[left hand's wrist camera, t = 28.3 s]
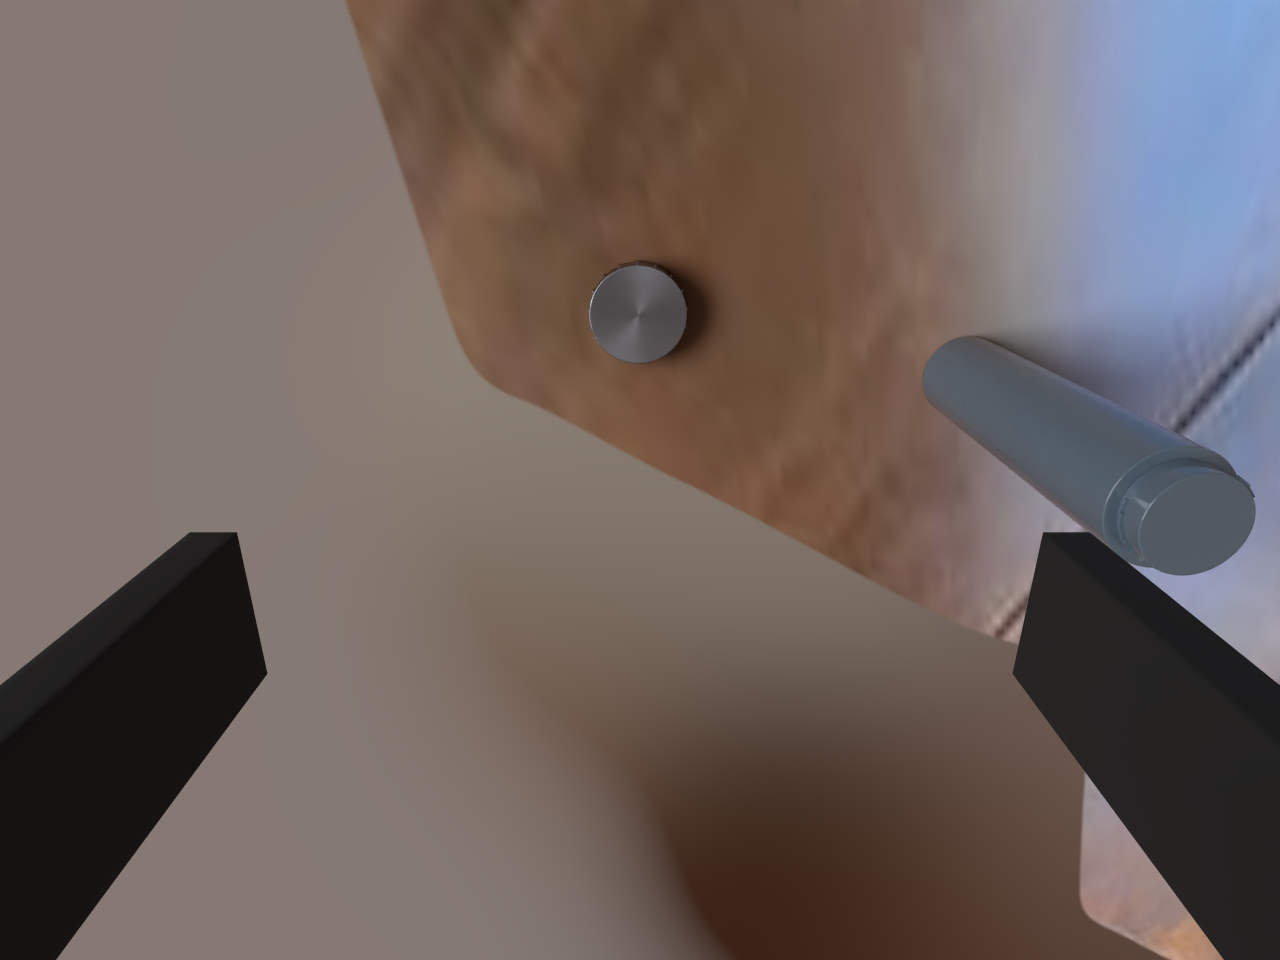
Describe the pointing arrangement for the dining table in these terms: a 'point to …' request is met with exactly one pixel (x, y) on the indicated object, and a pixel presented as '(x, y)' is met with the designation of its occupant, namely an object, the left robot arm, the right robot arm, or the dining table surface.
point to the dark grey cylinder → (1095, 458)
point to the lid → (638, 312)
